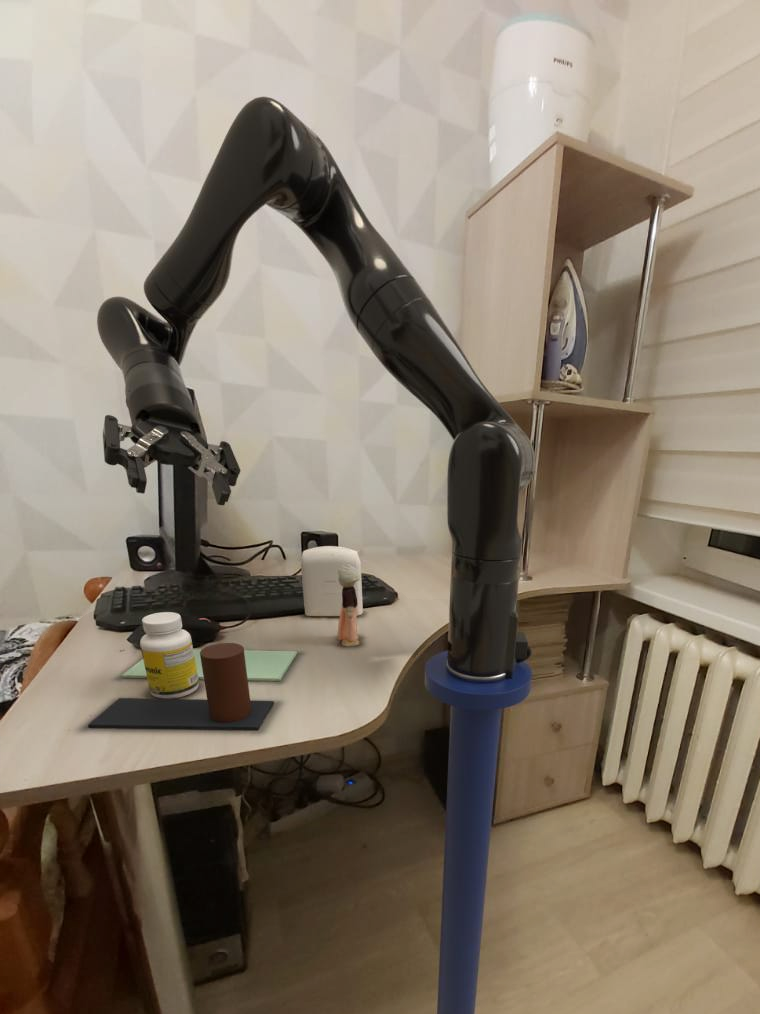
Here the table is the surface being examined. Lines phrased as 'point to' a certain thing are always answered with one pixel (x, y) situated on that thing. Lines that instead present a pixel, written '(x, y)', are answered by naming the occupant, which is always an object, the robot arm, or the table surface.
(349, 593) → the grandmother figurine
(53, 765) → the table surface
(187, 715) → the dark mat
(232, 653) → the brown cylinder
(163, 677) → the supplement bottle
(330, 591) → the photo printer
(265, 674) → the pale mat
